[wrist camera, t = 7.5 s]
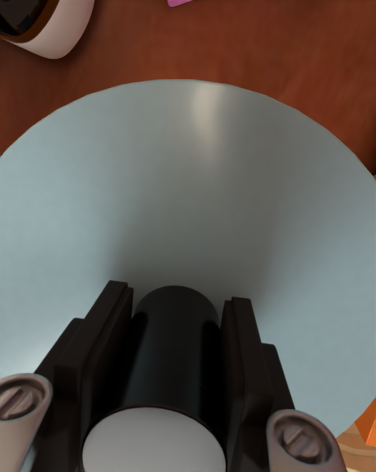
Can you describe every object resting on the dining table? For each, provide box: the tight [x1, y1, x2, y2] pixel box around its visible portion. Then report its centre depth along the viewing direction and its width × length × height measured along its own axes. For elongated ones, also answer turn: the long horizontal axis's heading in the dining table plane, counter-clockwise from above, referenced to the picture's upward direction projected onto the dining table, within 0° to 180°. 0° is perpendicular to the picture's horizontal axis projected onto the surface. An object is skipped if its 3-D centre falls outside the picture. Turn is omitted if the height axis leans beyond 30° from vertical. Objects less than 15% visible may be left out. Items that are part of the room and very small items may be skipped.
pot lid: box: [0, 79, 376, 472], centre depth 9 cm, size 15×15×6 cm
